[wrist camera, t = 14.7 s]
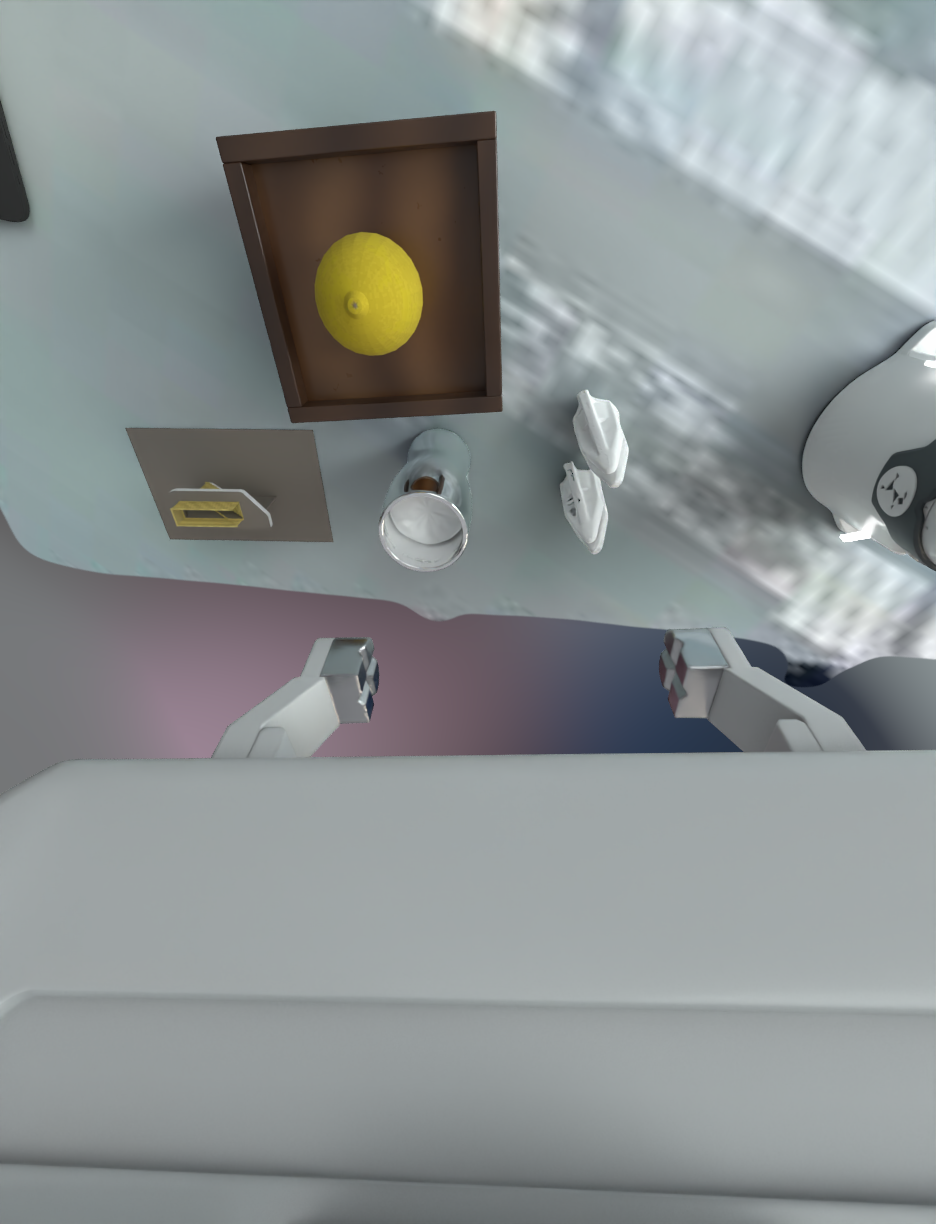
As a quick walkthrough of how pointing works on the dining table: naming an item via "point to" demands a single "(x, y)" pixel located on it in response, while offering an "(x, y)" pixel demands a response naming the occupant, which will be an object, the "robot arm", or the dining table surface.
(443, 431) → the beer glass
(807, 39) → the dining table surface
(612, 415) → the shaker set
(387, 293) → the lemon
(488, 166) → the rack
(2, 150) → the phone
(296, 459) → the platform
